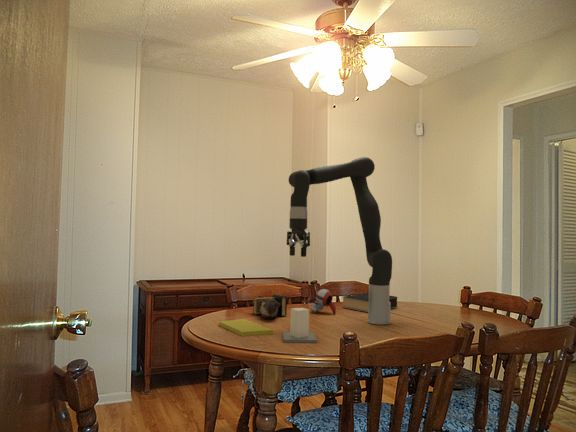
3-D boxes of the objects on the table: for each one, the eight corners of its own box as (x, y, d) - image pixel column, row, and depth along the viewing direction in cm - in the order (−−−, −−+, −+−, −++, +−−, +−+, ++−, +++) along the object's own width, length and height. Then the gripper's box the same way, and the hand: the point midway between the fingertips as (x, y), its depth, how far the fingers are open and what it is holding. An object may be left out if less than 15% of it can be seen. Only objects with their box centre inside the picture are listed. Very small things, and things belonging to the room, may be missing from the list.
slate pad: (313, 334, 175) (313, 332, 175) (316, 342, 163) (316, 339, 163) (282, 334, 174) (282, 331, 174) (283, 342, 162) (284, 339, 162)
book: (397, 309, 241) (397, 296, 241) (368, 314, 225) (368, 300, 225) (371, 304, 254) (371, 292, 254) (342, 308, 237) (342, 296, 238)
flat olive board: (218, 326, 188) (245, 339, 168) (218, 321, 188) (245, 333, 168) (244, 324, 195) (273, 335, 175) (244, 318, 195) (273, 329, 175)
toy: (332, 323, 219) (340, 297, 216) (303, 318, 216) (311, 291, 213) (326, 310, 233) (334, 285, 229) (299, 305, 230) (306, 279, 227)
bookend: (277, 294, 223) (296, 296, 201) (276, 315, 222) (295, 320, 199) (249, 294, 218) (265, 296, 195) (249, 316, 216) (265, 321, 194)
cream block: (301, 333, 172) (301, 307, 172) (308, 336, 168) (309, 309, 168) (290, 335, 169) (290, 308, 170) (297, 337, 165) (298, 310, 166)
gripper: (315, 217, 185) (314, 257, 184) (296, 218, 197) (295, 255, 196) (300, 217, 181) (299, 257, 180) (282, 217, 193) (281, 255, 192)
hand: (297, 256), depth 188 cm, fingers open, 8 cm apart
